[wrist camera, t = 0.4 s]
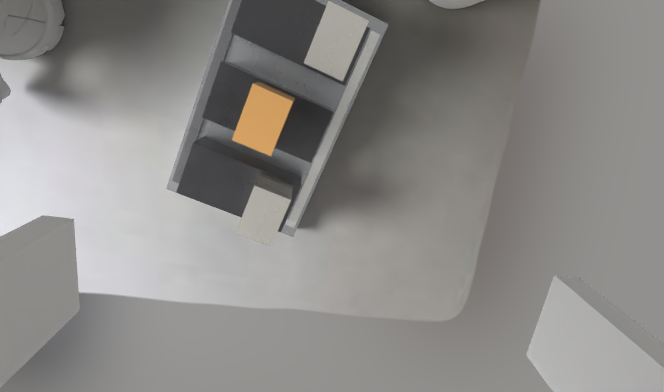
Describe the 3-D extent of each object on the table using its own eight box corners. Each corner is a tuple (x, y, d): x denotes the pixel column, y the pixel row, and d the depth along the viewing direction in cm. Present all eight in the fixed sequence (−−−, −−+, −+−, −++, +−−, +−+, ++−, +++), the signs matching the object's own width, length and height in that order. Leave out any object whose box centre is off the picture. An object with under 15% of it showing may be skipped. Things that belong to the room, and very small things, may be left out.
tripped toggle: (241, 131, 29) (231, 140, 26) (259, 81, 28) (252, 83, 25) (275, 146, 30) (270, 156, 26) (295, 97, 28) (293, 101, 25)
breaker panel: (174, 182, 35) (133, 215, 27) (249, -42, 30) (226, -83, 22) (293, 228, 37) (289, 272, 29) (383, 27, 32) (409, 12, 24)
